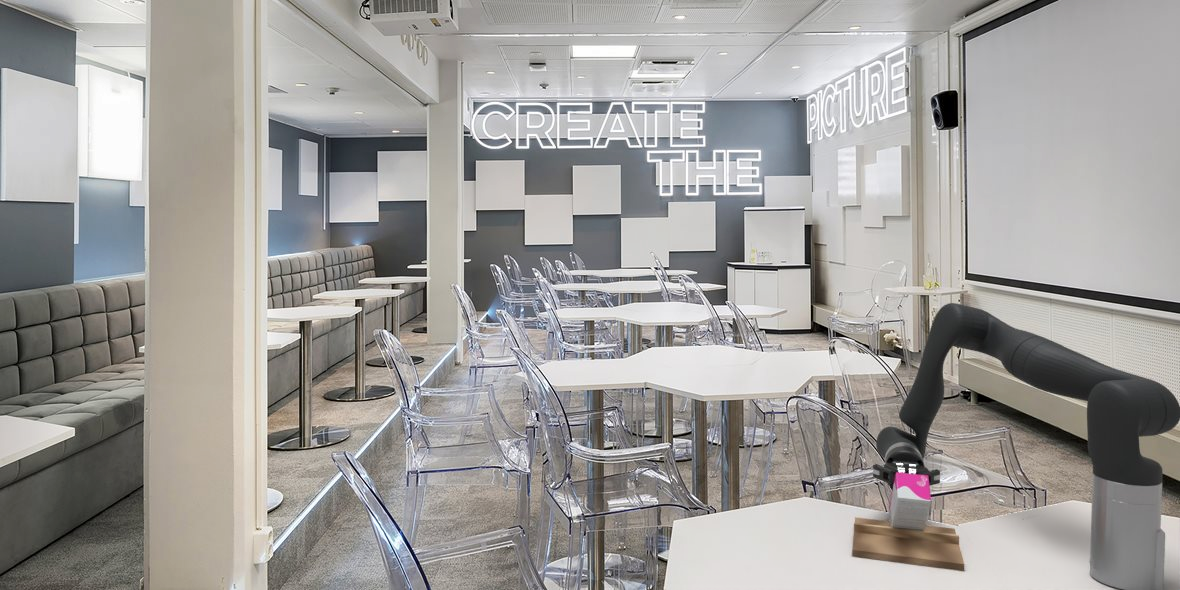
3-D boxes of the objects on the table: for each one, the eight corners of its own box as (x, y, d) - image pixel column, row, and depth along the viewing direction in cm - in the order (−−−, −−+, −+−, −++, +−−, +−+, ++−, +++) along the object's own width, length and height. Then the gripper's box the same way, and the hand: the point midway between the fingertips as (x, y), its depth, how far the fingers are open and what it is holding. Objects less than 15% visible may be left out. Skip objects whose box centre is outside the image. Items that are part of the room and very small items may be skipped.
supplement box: (924, 535, 138) (931, 502, 130) (890, 532, 140) (895, 498, 132) (921, 508, 142) (928, 474, 135) (888, 505, 144) (893, 471, 136)
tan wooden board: (954, 534, 141) (954, 520, 141) (964, 571, 126) (964, 555, 125) (854, 523, 148) (855, 509, 148) (852, 556, 132) (852, 541, 132)
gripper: (870, 443, 157) (870, 462, 141) (939, 448, 153) (947, 469, 136) (870, 477, 158) (870, 501, 141) (938, 484, 153) (946, 509, 137)
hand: (908, 485), depth 139 cm, fingers closed
